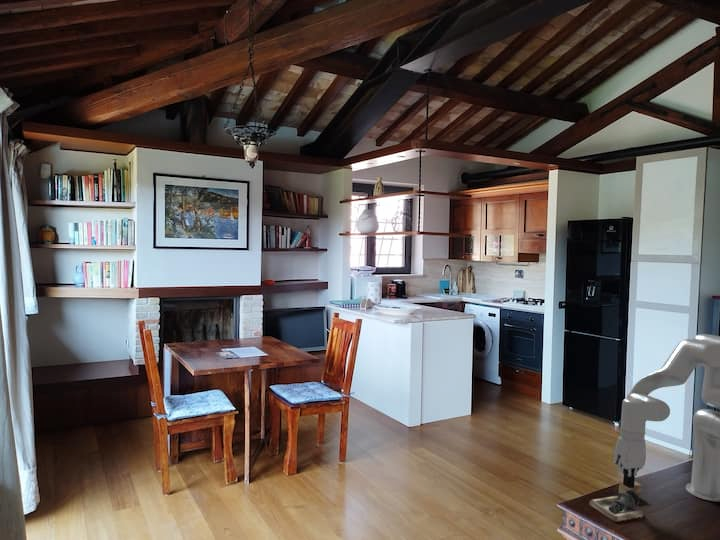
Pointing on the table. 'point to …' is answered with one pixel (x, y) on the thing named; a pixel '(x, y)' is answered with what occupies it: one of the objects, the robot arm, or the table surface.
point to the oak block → (624, 488)
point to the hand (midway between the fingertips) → (628, 486)
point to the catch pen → (603, 507)
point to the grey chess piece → (624, 502)
